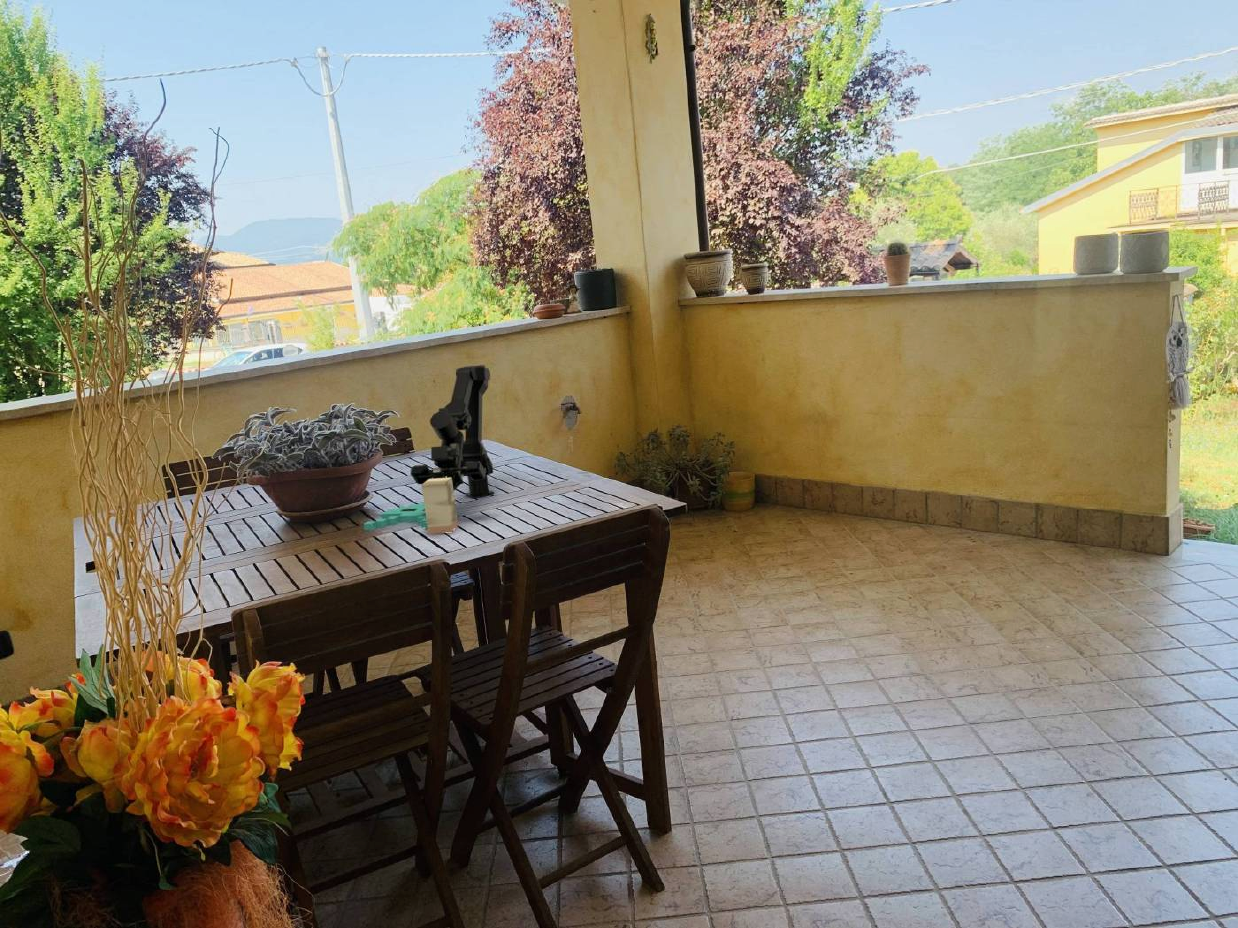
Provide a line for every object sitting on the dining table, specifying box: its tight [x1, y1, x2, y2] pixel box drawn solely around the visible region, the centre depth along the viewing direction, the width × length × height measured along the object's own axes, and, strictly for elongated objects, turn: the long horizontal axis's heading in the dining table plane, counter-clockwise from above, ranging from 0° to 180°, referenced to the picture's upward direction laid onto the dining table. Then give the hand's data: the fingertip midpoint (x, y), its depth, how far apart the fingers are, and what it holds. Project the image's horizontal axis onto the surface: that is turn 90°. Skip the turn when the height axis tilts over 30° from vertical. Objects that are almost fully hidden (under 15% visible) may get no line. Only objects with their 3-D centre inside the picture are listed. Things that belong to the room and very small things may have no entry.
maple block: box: [420, 477, 459, 535], centre depth 232 cm, size 6×6×13 cm
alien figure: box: [363, 501, 428, 531], centre depth 247 cm, size 20×2×20 cm
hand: (444, 500), depth 235 cm, fingers closed
